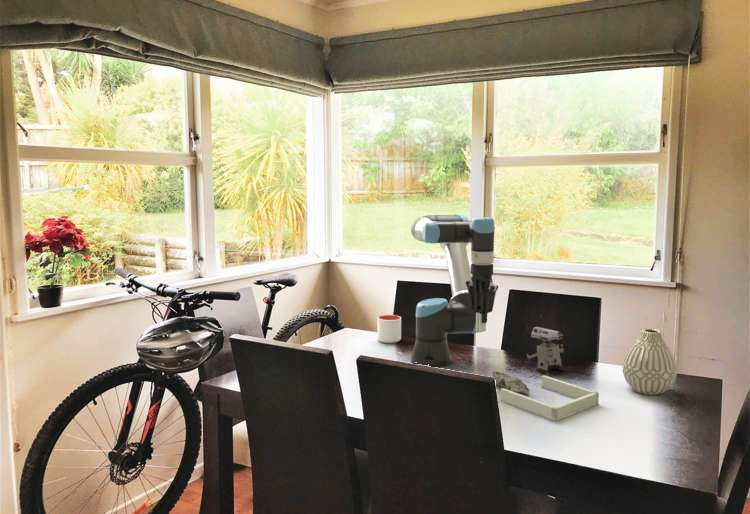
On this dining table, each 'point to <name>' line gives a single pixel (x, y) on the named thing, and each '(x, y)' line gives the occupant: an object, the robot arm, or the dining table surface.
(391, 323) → the cup
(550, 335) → the figurine
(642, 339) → the vase
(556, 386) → the corral
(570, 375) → the dining table surface
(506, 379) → the mineral rock
